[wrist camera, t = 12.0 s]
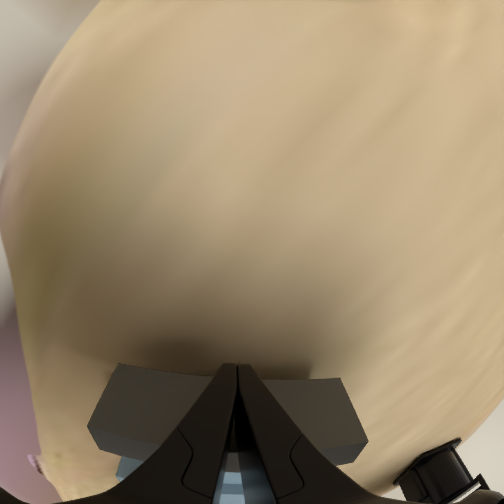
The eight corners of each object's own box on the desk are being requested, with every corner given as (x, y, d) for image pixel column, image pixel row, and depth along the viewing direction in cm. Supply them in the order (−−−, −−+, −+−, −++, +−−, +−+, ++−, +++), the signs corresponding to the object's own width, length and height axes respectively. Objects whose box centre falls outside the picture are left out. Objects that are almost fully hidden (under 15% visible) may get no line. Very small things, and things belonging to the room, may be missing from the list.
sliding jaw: (360, 376, 10) (392, 435, 7) (310, 471, 12) (320, 514, 9) (97, 358, 9) (62, 416, 6) (134, 461, 12) (124, 504, 8)
